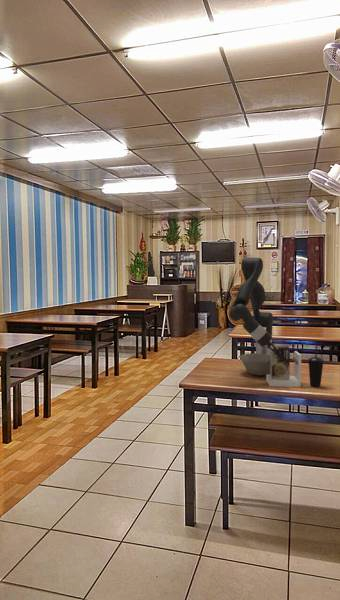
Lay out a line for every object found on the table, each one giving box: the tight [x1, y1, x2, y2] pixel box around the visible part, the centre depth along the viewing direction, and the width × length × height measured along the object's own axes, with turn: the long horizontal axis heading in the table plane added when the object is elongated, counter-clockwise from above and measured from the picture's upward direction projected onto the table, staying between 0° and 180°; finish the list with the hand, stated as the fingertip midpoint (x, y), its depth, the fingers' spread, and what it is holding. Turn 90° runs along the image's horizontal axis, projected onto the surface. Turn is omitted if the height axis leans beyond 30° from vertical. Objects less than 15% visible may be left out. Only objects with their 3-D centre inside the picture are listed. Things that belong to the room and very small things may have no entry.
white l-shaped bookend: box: [265, 350, 302, 388], centre depth 217 cm, size 12×15×16 cm
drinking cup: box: [307, 346, 325, 388], centre depth 212 cm, size 8×8×20 cm
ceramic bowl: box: [238, 352, 270, 376], centre depth 238 cm, size 22×23×10 cm
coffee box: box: [269, 345, 291, 379], centre depth 217 cm, size 9×6×16 cm
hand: (282, 358), depth 217 cm, fingers open, 8 cm apart
